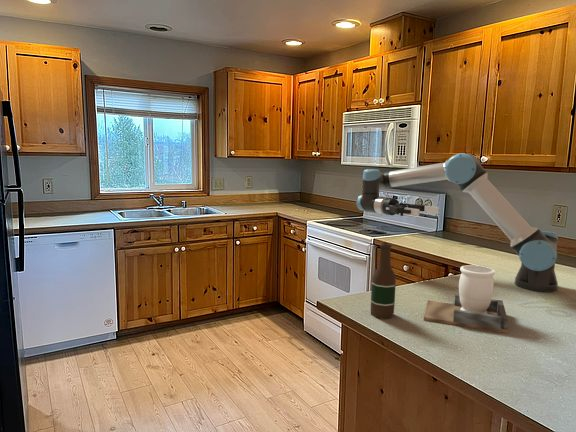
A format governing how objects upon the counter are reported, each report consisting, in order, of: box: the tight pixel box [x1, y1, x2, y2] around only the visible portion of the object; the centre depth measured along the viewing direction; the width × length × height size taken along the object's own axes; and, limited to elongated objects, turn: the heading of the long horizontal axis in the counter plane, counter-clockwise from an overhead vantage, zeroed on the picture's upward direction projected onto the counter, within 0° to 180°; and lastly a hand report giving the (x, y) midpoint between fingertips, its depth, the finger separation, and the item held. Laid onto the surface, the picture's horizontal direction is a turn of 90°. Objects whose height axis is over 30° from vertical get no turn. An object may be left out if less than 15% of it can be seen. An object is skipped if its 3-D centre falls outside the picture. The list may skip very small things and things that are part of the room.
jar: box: [458, 264, 496, 314], centre depth 138 cm, size 11×10×15 cm
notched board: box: [423, 294, 509, 334], centre depth 138 cm, size 24×17×4 cm
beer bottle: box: [370, 242, 397, 320], centre depth 137 cm, size 8×8×24 cm
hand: (429, 211), depth 168 cm, fingers open, 13 cm apart
